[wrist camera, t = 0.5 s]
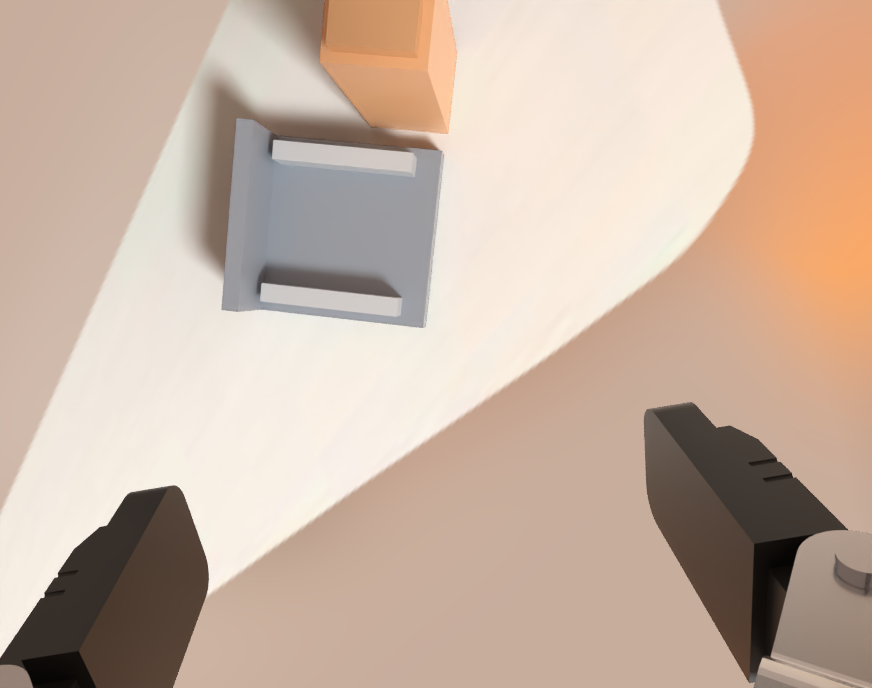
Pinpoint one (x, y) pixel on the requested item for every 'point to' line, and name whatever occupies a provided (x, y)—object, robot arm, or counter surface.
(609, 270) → the counter surface
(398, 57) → the block
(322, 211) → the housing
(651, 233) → the counter surface
